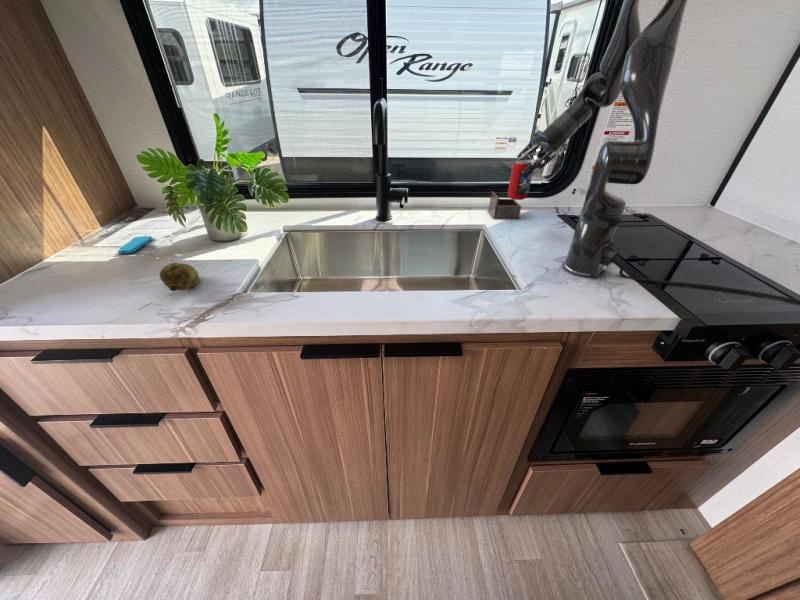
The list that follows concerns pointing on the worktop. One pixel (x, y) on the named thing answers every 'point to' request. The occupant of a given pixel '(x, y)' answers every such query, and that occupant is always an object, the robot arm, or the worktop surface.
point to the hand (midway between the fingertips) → (517, 173)
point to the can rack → (503, 208)
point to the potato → (179, 276)
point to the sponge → (134, 244)
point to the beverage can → (519, 180)
